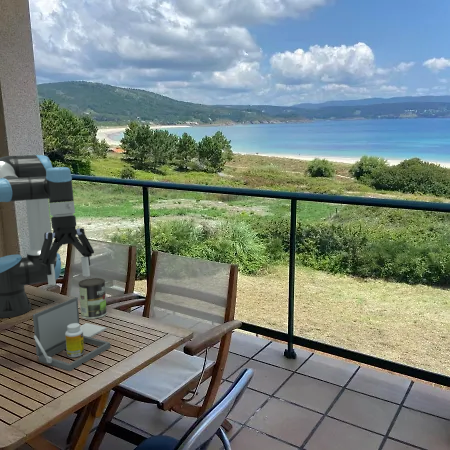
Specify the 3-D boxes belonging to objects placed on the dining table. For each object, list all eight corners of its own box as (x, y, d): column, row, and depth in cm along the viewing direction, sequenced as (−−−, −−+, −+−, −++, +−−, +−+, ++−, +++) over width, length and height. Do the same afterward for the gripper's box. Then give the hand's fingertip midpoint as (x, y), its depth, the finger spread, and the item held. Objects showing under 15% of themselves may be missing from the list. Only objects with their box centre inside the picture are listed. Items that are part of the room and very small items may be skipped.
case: (34, 362, 142) (29, 315, 139) (79, 339, 159) (75, 297, 156) (67, 372, 135) (63, 324, 132) (110, 347, 152) (107, 303, 149)
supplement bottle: (84, 356, 146) (82, 327, 144) (67, 359, 144) (64, 329, 142) (84, 349, 151) (82, 320, 149) (66, 351, 149) (64, 323, 147)
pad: (66, 334, 163) (66, 332, 163) (86, 324, 172) (86, 322, 172) (86, 339, 158) (86, 337, 158) (106, 329, 167) (106, 327, 167)
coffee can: (111, 310, 186) (109, 278, 183) (99, 320, 176) (97, 286, 173) (88, 309, 188) (86, 277, 185) (76, 318, 178) (73, 284, 175)
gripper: (36, 218, 130) (43, 289, 132) (100, 211, 151) (106, 273, 153) (20, 219, 134) (28, 288, 136) (85, 212, 155) (91, 272, 157)
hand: (70, 280), depth 144 cm, fingers open, 13 cm apart
